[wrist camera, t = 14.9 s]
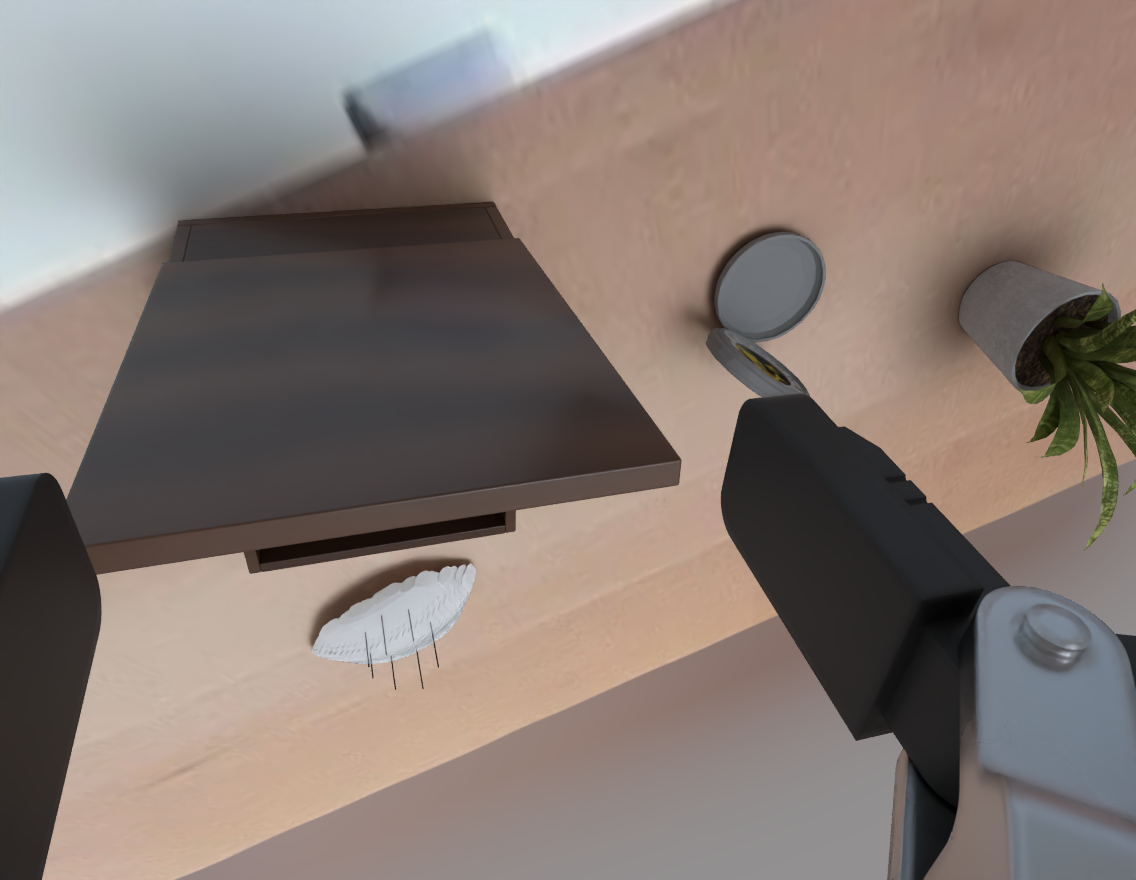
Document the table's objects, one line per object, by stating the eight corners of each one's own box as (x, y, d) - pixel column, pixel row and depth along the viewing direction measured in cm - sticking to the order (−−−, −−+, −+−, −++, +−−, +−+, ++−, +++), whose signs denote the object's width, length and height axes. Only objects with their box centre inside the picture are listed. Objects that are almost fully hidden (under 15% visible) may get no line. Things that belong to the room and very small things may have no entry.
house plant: (1012, 411, 59) (1208, 568, 47) (859, 402, 54) (1033, 576, 42) (1129, 225, 51) (1402, 353, 39) (964, 195, 47) (1215, 331, 34)
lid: (679, 485, 21) (682, 459, 20) (55, 582, 17) (43, 552, 17) (519, 255, 35) (519, 237, 35) (166, 282, 32) (161, 262, 31)
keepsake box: (497, 476, 49) (515, 531, 46) (252, 512, 46) (249, 574, 42) (494, 201, 39) (517, 242, 35) (177, 220, 36) (165, 267, 32)
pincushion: (339, 667, 56) (344, 739, 51) (285, 621, 52) (286, 695, 47) (493, 587, 55) (511, 653, 51) (450, 534, 51) (466, 601, 47)
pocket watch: (827, 222, 45) (939, 304, 37) (799, 352, 50) (892, 447, 42) (691, 236, 43) (779, 324, 36) (676, 369, 48) (750, 472, 41)
